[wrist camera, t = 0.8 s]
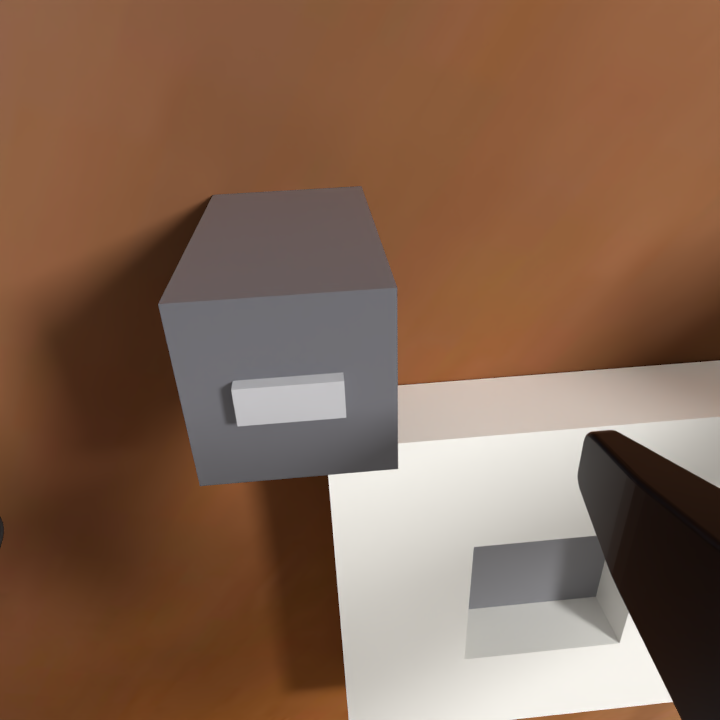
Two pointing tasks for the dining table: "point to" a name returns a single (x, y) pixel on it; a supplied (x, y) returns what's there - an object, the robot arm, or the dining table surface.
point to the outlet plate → (503, 546)
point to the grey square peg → (285, 338)
